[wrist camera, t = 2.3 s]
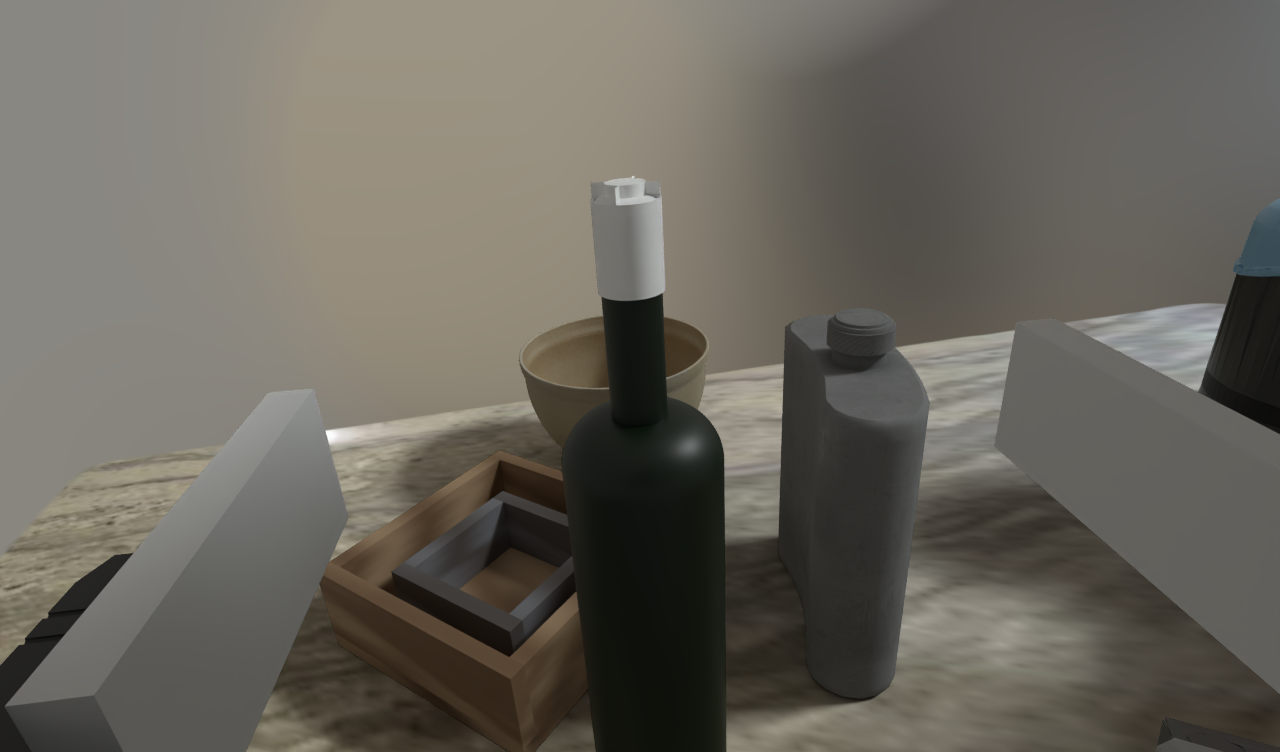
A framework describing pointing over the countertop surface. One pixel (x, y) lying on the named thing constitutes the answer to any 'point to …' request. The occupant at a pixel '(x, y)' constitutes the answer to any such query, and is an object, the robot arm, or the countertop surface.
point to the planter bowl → (600, 370)
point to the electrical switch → (1204, 740)
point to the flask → (849, 491)
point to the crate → (472, 601)
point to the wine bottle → (646, 511)
